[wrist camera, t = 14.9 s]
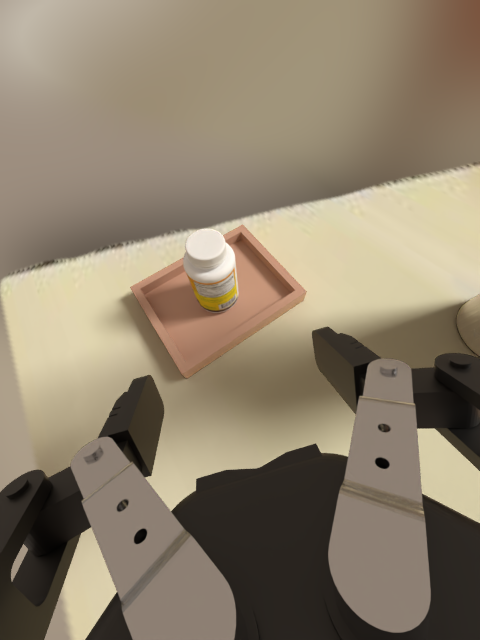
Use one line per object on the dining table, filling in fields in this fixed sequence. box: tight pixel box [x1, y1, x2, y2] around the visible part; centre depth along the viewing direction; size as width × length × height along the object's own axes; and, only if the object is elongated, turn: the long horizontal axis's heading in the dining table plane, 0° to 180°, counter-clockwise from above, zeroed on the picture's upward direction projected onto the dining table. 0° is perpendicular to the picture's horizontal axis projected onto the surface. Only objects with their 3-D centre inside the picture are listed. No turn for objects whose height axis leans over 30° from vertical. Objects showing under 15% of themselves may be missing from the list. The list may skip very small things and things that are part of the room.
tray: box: [130, 225, 307, 378], centre depth 34 cm, size 18×14×2 cm
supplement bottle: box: [183, 229, 239, 313], centre depth 29 cm, size 6×6×10 cm
